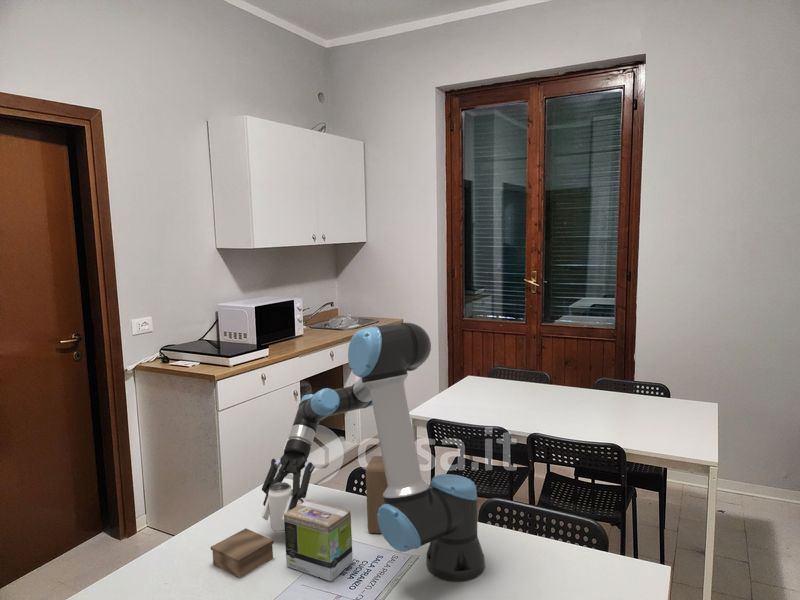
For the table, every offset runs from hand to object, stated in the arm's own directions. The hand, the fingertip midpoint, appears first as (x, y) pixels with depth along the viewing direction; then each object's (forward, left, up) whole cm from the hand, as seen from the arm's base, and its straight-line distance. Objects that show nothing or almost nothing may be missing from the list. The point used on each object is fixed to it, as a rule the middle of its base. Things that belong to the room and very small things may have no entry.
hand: (274, 519), depth 160 cm
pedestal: (+1, +11, -7) cm, 13 cm away
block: (-20, -25, -8) cm, 33 cm away
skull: (+16, -18, -8) cm, 25 cm away
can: (+1, -3, -4) cm, 6 cm away
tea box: (-17, +1, -8) cm, 19 cm away
